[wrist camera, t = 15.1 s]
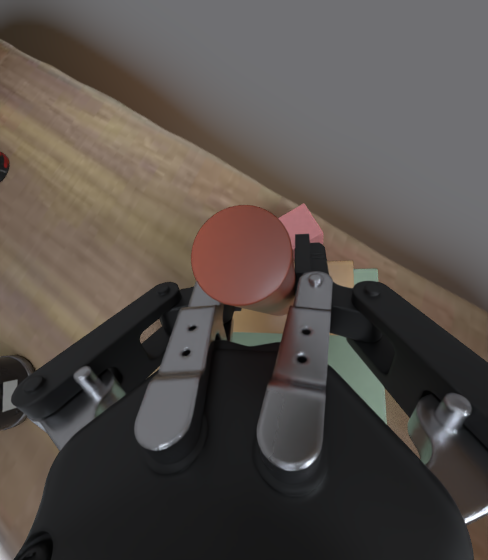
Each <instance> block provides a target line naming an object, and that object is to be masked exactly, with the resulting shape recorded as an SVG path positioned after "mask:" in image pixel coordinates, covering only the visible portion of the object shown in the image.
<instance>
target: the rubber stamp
mask: <svg viewBox="0 0 488 560" xmlns="http://www.w3.org/2000/svg"><path fill="white" fill-rule="evenodd" d="M191 264H192V270H193V274H194V276H195V279H196V281H197V283H198V284H199V286H200V287H201V288H202V290H203V291H204V292H205V293H206V294H207V295H208V296H210V297H211V298H212V299H214V300H216V301H218V302H220V303H223V304H226V305H230V306H235V307H239V308H242V309H241V311H234V314H233V320H234V325H233V332H245V333H277V334H283V331H284V327H285V323H286V319H287V315H288V311H289V307H290V305H291V306H293V303H294V299H295V286H296V278H295V269H294V268H295V262H294V260H293V251H292V244H291V239H290V236H289V234H288V231H287V230H286V228H285V226H284V225H283V223H282V222H281V221H280V220H279V219H278V218H277V217H276V216H275V215H273V214H272V213H271V212H269V211H267V210H265V209H262V208H260V207H256V206H250V205H238V206H232V207H229V208H226V209H224V210H221V211H219V212H218V213H216V214H215V215H213V216H212V217H211V218H209V219H208V220H207V221H206V222H205V223H204V225H203V226H202V227H201V229H200V230H199V232H198V234H197V235H196V237H195V240H194V243H193V247H192V253H191ZM327 264H328V270H329V275H330V276H331V277H332V279H333V282H335V283H336V284H338V285H341V286H344V287H348V288H353V287H354V272H353V261H327ZM330 335H335V334H332V333H330Z"/></svg>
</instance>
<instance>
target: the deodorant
mask: <svg viewBox="0 0 488 560" xmlns="http://www.w3.org/2000/svg"><path fill="white" fill-rule="evenodd" d="M8 169H9V160H8V157H7V156H6V155H5V154H3V153H2V152H0V182H1V181H2V180H3V179H4V178H5V176H6V174H7V172H8Z"/></svg>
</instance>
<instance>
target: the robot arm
mask: <svg viewBox="0 0 488 560" xmlns="http://www.w3.org/2000/svg"><path fill="white" fill-rule="evenodd" d="M294 269H295V278H296V286H295V299H294V303H293V306H291V305H290V307H289V311H288V315H287V319H286V323H285V327H284V331H283V335H282V339H281V342H274V343H268V344H262V345H256V346H245V345H242V344H238V343H234V342H232V337H233V325H234V320H233V314H234V311H241V309H242V308H239V307H235V306H230V305H226V304H223V303H220V302H218V301H216V300H214V299H212V298H211V297H210V296H208V295H207V294H206V293H205V292H204V291H203V290H202V288H201V287H200V286H199V284H198V283H197V281H196V282H195V285H194V287H191V288H186V289H181V290H179V287H178V285H177V284H176V283H173V282H165V283H162V284H159V285H157V286H155V287H154V288H152V289H151V290H149V291H148V292H147V293H145V294H144V295H142V296H141V297H140V298H138V299H137V300H135V301H134V302H132V303H131V304H130V305H128V306H127V307H125V308H124V309H123V310H121V311H120V312H118V313H117V314H116V315H114V316H113V317H111V318H110V319H108V320H107V321H106V322H104V323H103V324H101V325H100V326H99V327H97V328H96V329H94V330H93V331H91V332H90V333H89V334H87V335H86V336H84V337H83V338H82V339H80V340H79V341H77V342H76V343H75V344H73V345H72V346H70V347H69V348H67V349H66V350H65V351H63V352H62V353H60V354H59V355H58V356H56V357H55V358H53V359H52V360H50V361H49V362H48V363H46V364H45V365H43V366H42V367H41V368H39V369H38V370H36V371H34V369H33V367H32V365H31V364H30V363H29V362H28V361H27V360H26V359H25V358H23V357H21V356H18V355H9V356H2V357H0V431H1V430H6V429H9V428H12V427H14V426H17V425H19V424H20V423H22V422H23V421H24V420H25V419H26V418H27V417H28V419H30V420H31V421H32V422H33V423H35V424H36V425H37V426H39V427H40V428H41V429H42V430H44V431H45V432H46V433H48V435H49V436H50V438H51V439H52V441H53V442H54V444H55V445H56V446H57V448H58V449H59V451H60V452H59V454H58V455H57V457H56V459H55V460H54V462H53V464H52V466H51V468H50V471H49V473H48V476H47V479H46V483H45V487H44V491H43V496H42V500H41V503H40V506H39V510H38V512H37V515H36V518H35V520H34V523H33V525H32V528H31V530H30V532H29V534H28V537H27V539H26V541H25V543H24V544H23V546H22V548H21V549H20V551H19V552H18V554H17V555H16V557H15V558H14V560H474V556H473V549H472V543H471V539H470V536H469V532H468V529H467V527H466V526H467V525H469V524H471V523H473V522H475V521H477V520H479V519H481V518H483V517H485V516H487V515H488V362H486V361H485V360H484V359H482V358H481V357H480V356H478V355H477V354H476V353H474V352H473V351H472V350H471V349H469V348H468V347H467V346H465V345H464V344H463V343H461V342H460V341H459V340H457V339H456V338H455V337H453V336H452V335H451V334H450V333H448V332H447V331H446V330H444V329H443V328H442V327H440V326H439V325H438V324H436V323H435V322H434V321H432V320H431V319H430V318H428V317H427V316H426V315H425V314H423V313H422V312H421V311H419V310H418V309H417V308H415V307H414V306H413V305H411V304H410V303H409V302H407V301H406V300H405V299H404V298H402V297H401V296H400V295H398V294H397V293H396V292H394V291H393V290H392V289H390V288H389V287H388V286H386V285H385V284H383V283H380V282H376V281H362V282H359V283H357V284H355V285H354V287H353V288H348V287H344V286H341V285H338V284H336V283H335V282H333V279H332V277H331V276H330V275H329V270H328V264H327V259H326V252H325V247H324V246H323V245H322V244H321V243H320V242H318V243H310V238H309V234H295V268H294ZM158 319H159V320H160V322H161V324H162V327H161V328H160V329H158V330H157V331H156V332H155V333H154V334H152V335H151V336H150V337H149V338H148V339H147V340H145V341H144V342H143V343H142V344H141V343H140V335H141V334H142V332H143V331H144V330H145V329H147V328H148V327H149V326H150V325H152V324H153V323H154V322H155V321H156V320H158ZM330 333H332V334H335V335H339V336H342V337H346V340H347V342H348V344H349V345H350V346H351V347H352V348H353V350H354V351H355V352H356V353H357V355H358V356H359V357H360V358H361V359H362V361H363V362H364V363H365V364H366V365H367V367H368V368H369V369H370V370H371V372H372V373H373V374H374V375H375V376H376V378H377V379H378V380H379V381H380V382H381V384H382V385H383V386H384V387H385V389H386V390H387V391H388V392H389V393H390V395H391V396H392V397H393V398H394V399H395V401H396V402H397V403H398V404H399V406H400V407H401V408H402V409H403V410H404V412H405V413H406V414H407V415H408V416H409V418H410V419H409V422H408V433H409V436H410V438H411V440H412V442H413V443H414V445H415V447H416V448H417V450H418V453H419V456H420V459H421V460H420V459H419V458H418V457H417V456H416V455H415V454H414V453H413V452H412V451H411V449H410V448H409V447H408V446H407V445H406V444H405V443H404V442H403V441H402V440H401V439H400V438H399V437H398V436H397V435H396V434H395V433H394V432H393V431H392V430H391V428H390V427H389V426H388V425H387V424H386V423H385V422H384V421H383V420H382V419H381V418H380V417H379V416H378V415H377V414H376V413H375V412H374V411H373V410H372V409H371V407H370V406H369V405H368V404H367V403H366V402H365V401H364V400H363V399H362V398H361V397H360V396H359V395H358V394H357V393H356V392H355V391H354V390H353V389H352V388H351V386H350V385H349V384H348V383H347V382H346V381H345V380H344V379H343V378H342V377H341V376H340V375H339V374H338V373H337V372H336V371H335V370H334V369H333V368H332V367H331V366H330V365H329V364H328V350H329V335H330ZM160 365H161V366H160ZM159 366H160V369H159V370H157V371H156V372H155V373H153V372H154V371H155V370H156V369H157V368H158V367H159ZM152 373H153V374H152ZM151 374H152V375H151ZM149 375H151V376H150V377H148V376H149ZM147 377H148V378H147ZM146 378H147V379H146ZM145 379H146V380H145Z"/></svg>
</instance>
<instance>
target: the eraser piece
mask: <svg viewBox="0 0 488 560" xmlns="http://www.w3.org/2000/svg"><path fill="white" fill-rule="evenodd" d="M278 219H279V220H280V221H281V222H282V223H283V225H284V226H285V228H286V230H287V231H288V234H289V236H290V239H291V244H292V251H293V260H294V259H295V234H309V238H310V243H318V242H320V243H321V244H323V231H322V230H321V228H320V227H319V225H318V224H317V222H316V221H315V219H314V218H313V216H312V214H311V213H310V211H309V210H308V208H307V207H306V205H305V204H302V205H300V206H299V207H297V208H295V209H293V210H292V211H290V212H288V213H286V214H284V215H283V216H281V217H279V218H278Z"/></svg>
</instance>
